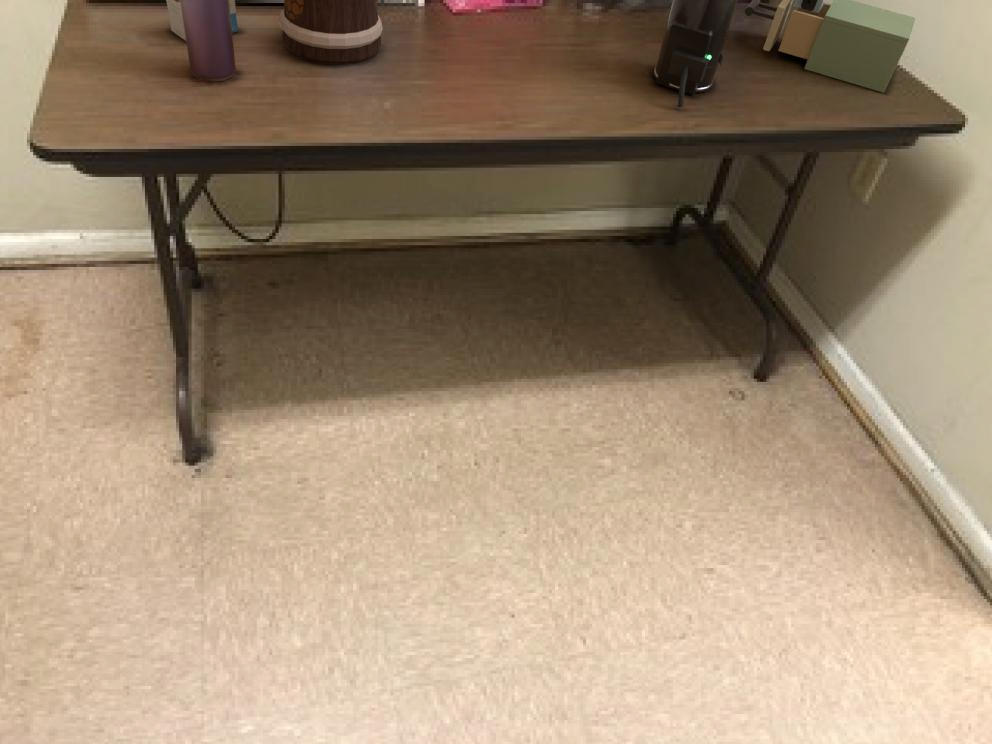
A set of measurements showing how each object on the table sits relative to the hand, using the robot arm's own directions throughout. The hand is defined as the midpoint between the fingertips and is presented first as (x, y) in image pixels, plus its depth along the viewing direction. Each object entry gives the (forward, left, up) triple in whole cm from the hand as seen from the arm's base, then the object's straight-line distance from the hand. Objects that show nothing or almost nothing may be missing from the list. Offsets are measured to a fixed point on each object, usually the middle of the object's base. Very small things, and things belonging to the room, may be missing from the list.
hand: (809, 4), depth 139 cm
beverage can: (-71, +68, -8) cm, 98 cm away
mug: (-51, +63, -8) cm, 81 cm away
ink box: (-61, +78, -8) cm, 99 cm away
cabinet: (0, -10, -8) cm, 13 cm away
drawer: (0, +1, -7) cm, 7 cm away
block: (0, 0, 0) cm, 0 cm away
